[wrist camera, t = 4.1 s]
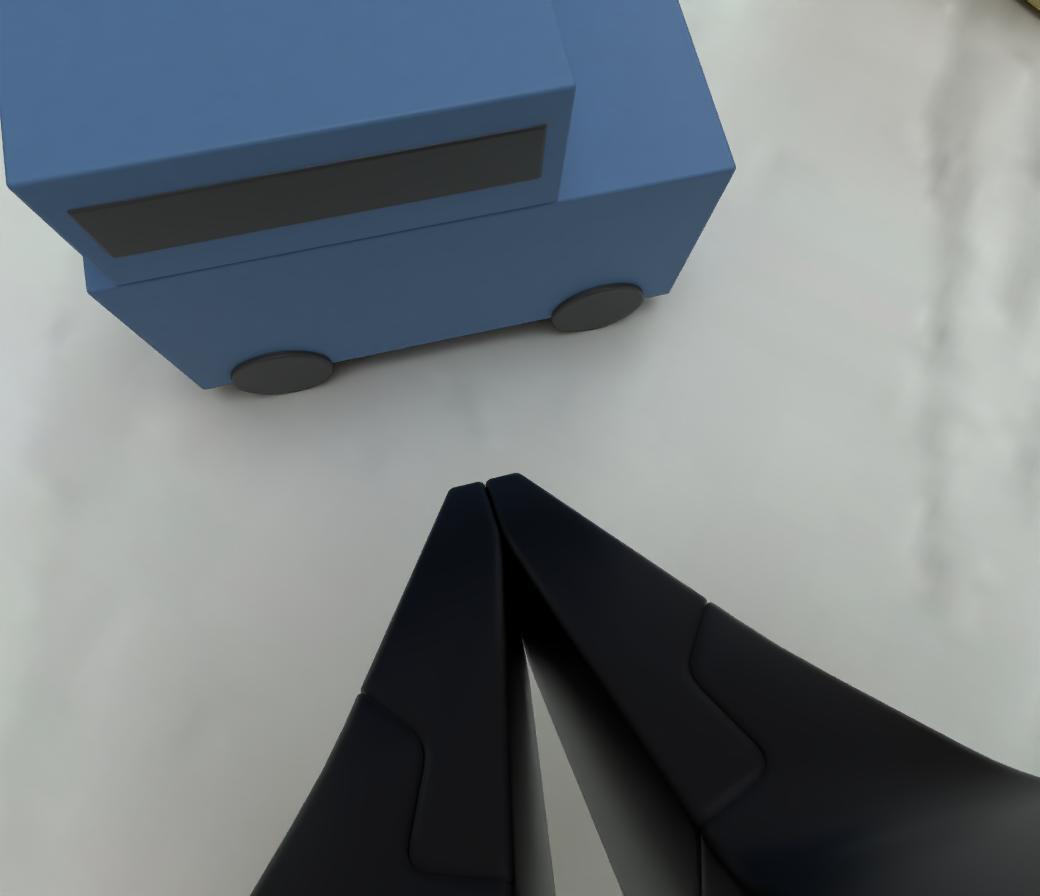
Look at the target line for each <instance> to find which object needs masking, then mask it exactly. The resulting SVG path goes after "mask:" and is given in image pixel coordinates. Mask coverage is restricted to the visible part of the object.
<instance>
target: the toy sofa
mask: <svg viewBox="0 0 1040 896" xmlns="http://www.w3.org/2000/svg"><path fill="white" fill-rule="evenodd" d="M1026 1H1028V2H1029V3H1030V4H1032V5H1033V6H1034V7H1036V8H1037V9H1038V10H1040V0H1026Z"/></svg>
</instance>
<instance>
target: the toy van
mask: <svg viewBox="0 0 1040 896" xmlns="http://www.w3.org/2000/svg"><path fill="white" fill-rule="evenodd" d="M0 119H1V130H2V141H3V152H4V164H5V175H6V184H7V186H8V188H9V189H10V190H11V191H12V192H13V193H14V194H15V195H16V196H18V197H19V198H20V199H21V200H22V201H23V202H24V203H25V204H26V205H27V206H28V207H30V208H31V209H32V210H33V211H34V212H35V213H36V214H37V215H38V216H39V217H41V218H42V219H43V220H44V221H45V222H46V223H47V224H48V225H49V226H50V227H51V228H53V229H54V230H55V231H56V232H57V233H58V234H59V235H60V236H61V237H62V238H64V239H65V240H66V241H67V242H68V243H69V244H70V245H71V246H72V247H73V248H74V249H76V250H77V251H78V252H79V253H80V254H81V255H82V256H83V262H84V270H85V279H86V288H87V292H88V294H89V295H90V296H92V297H93V298H94V299H95V300H96V301H98V302H99V303H100V304H101V305H102V306H104V307H105V308H106V309H107V310H108V311H110V312H111V313H112V314H113V315H114V316H116V317H117V318H118V319H119V320H120V321H122V322H123V323H124V324H125V325H127V326H128V327H129V328H130V329H131V330H133V331H134V332H135V333H136V334H137V335H139V336H140V337H141V338H142V339H143V340H145V341H146V342H147V343H148V344H149V345H151V346H152V347H153V348H154V349H155V350H157V351H158V352H159V353H160V354H161V355H163V356H164V357H165V358H166V359H167V360H169V361H170V362H171V363H172V364H173V365H175V366H176V367H177V368H178V369H179V370H181V371H182V372H183V373H184V374H185V375H187V376H188V377H189V378H190V379H191V380H193V381H194V382H195V383H196V384H197V385H199V386H200V387H201V388H202V389H209V388H214V387H219V386H224V385H228V384H234V386H235V387H237V388H238V389H240V390H243V391H246V392H250V393H256V394H281V393H289V392H295V391H299V390H303V389H307V388H310V387H312V386H315V385H317V384H319V383H321V382H323V381H325V380H326V379H327V378H328V377H329V376H330V375H331V374H332V371H333V364H332V363H335V362H339V361H344V360H349V359H354V358H359V357H364V356H368V355H373V354H378V353H383V352H388V351H393V350H397V349H402V348H407V347H412V346H417V345H422V344H426V343H431V342H436V341H441V340H446V339H450V338H455V337H460V336H465V335H470V334H475V333H479V332H484V331H489V330H494V329H499V328H504V327H508V326H513V325H518V324H523V323H528V322H533V321H537V320H542V319H547V318H551V319H552V323H553V324H554V326H555V327H556V328H558V329H560V330H564V331H583V330H590V329H595V328H599V327H602V326H605V325H608V324H611V323H613V322H616V321H618V320H620V319H622V318H624V317H626V316H627V315H629V314H630V313H632V312H633V311H635V310H636V309H637V308H638V307H639V306H640V305H641V303H642V301H643V299H644V298H648V297H653V296H658V295H663V294H668V293H669V292H670V290H671V288H672V286H673V284H674V282H675V281H676V279H677V277H678V275H679V273H680V271H681V270H682V268H683V266H684V264H685V262H686V260H687V258H688V257H689V255H690V253H691V251H692V249H693V247H694V245H695V244H696V242H697V240H698V238H699V236H700V234H701V233H702V231H703V229H704V227H705V225H706V223H707V221H708V220H709V218H710V216H711V214H712V212H713V210H714V208H715V207H716V205H717V203H718V201H719V199H720V197H721V196H722V194H723V192H724V190H725V188H726V186H727V184H728V183H729V181H730V179H731V177H732V175H733V173H734V171H735V169H736V166H735V163H734V160H733V157H732V154H731V151H730V148H729V145H728V143H727V140H726V137H725V134H724V131H723V128H722V125H721V122H720V119H719V117H718V114H717V111H716V108H715V105H714V102H713V99H712V96H711V93H710V91H709V88H708V85H707V82H706V79H705V76H704V73H703V70H702V68H701V65H700V62H699V59H698V56H697V53H696V50H695V47H694V44H693V42H692V39H691V36H690V33H689V30H688V27H687V24H686V21H685V19H684V16H683V13H682V10H681V7H680V4H679V1H678V0H0Z"/></svg>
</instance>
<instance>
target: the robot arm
mask: <svg viewBox="0 0 1040 896" xmlns="http://www.w3.org/2000/svg"><path fill="white" fill-rule="evenodd" d="M523 644H524V646H523ZM524 648H525V651H526V655H527V658H528V661H529V664H530V666H531V669H532V672H533V674H534V677H535V680H536V682H537V685H538V687H539V689H540V692H541V694H542V697H543V699H544V702H545V704H546V707H547V709H548V712H549V714H550V716H551V719H552V721H553V724H554V726H555V729H556V731H557V734H558V736H559V738H560V741H561V743H562V746H563V748H564V751H565V753H566V756H567V758H568V761H569V763H570V765H571V768H572V770H573V773H574V775H575V778H576V780H577V783H578V785H579V787H580V790H581V792H582V795H583V797H584V800H585V802H586V805H587V807H588V809H589V812H590V814H591V817H592V819H593V822H594V824H595V827H596V829H597V832H598V834H599V836H600V839H601V841H602V844H603V846H604V849H605V851H606V854H607V856H608V858H609V861H610V863H611V866H612V868H613V871H614V873H615V876H616V878H617V881H618V883H619V885H620V888H621V890H622V893H623V895H624V896H1040V777H1037V776H1034V775H1031V774H1028V773H1025V772H1021V771H1019V770H1016V769H1014V768H1011V767H1009V766H1007V765H1004V764H1002V763H999V762H997V761H994V760H992V759H990V758H988V757H986V756H984V755H982V754H980V753H978V752H976V751H974V750H972V749H970V748H968V747H966V746H964V745H962V744H960V743H958V742H956V741H954V740H952V739H950V738H949V737H947V736H945V735H943V734H941V733H939V732H937V731H935V730H934V729H932V728H930V727H928V726H926V725H924V724H922V723H920V722H918V721H917V720H915V719H913V718H911V717H909V716H907V715H905V714H903V713H901V712H900V711H898V710H896V709H894V708H892V707H890V706H888V705H886V704H885V703H883V702H881V701H879V700H877V699H875V698H873V697H871V696H869V695H868V694H866V693H864V692H862V691H860V690H858V689H856V688H854V687H852V686H851V685H849V684H847V683H845V682H843V681H841V680H839V679H837V678H835V677H834V676H832V675H830V674H828V673H826V672H825V671H823V670H821V669H819V668H817V667H816V666H814V665H812V664H810V663H809V662H807V661H805V660H803V659H801V658H800V657H798V656H796V655H794V654H793V653H791V652H789V651H787V650H785V649H784V648H782V647H780V646H779V645H777V644H775V643H774V642H772V641H771V640H769V639H767V638H766V637H764V636H763V635H761V634H760V633H758V632H756V631H755V630H753V629H752V628H750V627H748V626H747V625H745V624H744V623H742V622H741V621H739V620H737V619H736V618H734V617H733V616H731V615H730V614H728V613H727V612H725V611H724V610H722V609H721V608H720V607H718V606H717V605H715V604H714V603H711V602H710V603H707V600H706V599H705V598H704V597H703V596H701V595H700V594H698V593H697V592H695V591H694V590H692V589H691V588H689V587H688V586H686V585H685V584H683V583H682V582H680V581H679V580H677V579H676V578H674V577H673V576H671V575H670V574H668V573H667V572H666V571H664V570H663V569H661V568H660V567H658V566H657V565H655V564H654V563H652V562H651V561H649V560H648V559H646V558H645V557H643V556H642V555H640V554H639V553H637V552H636V551H634V550H633V549H631V548H630V547H628V546H627V545H625V544H624V543H622V542H621V541H619V540H618V539H616V538H615V537H614V536H612V535H611V534H609V533H608V532H606V531H605V530H603V529H602V528H600V527H599V526H597V525H596V524H594V523H593V522H591V521H590V520H588V519H587V518H585V517H584V516H582V515H581V514H579V513H578V512H576V511H575V510H573V509H572V508H570V507H569V506H567V505H566V504H565V503H563V502H562V501H560V500H559V499H557V498H556V497H554V496H553V495H551V494H550V493H548V492H547V491H545V490H544V489H542V488H541V487H539V486H538V485H536V484H535V483H533V482H532V481H530V480H529V479H527V478H526V477H524V476H523V475H521V474H519V473H513V474H509V475H504V476H500V477H496V478H492V479H489V480H488V481H487V482H486V487H485V485H484V484H483V483H481V482H475V483H471V484H467V485H462V486H458V487H454V488H451V489H450V490H449V492H448V494H447V496H446V498H445V500H444V503H443V505H442V507H441V509H440V512H439V514H438V516H437V518H436V521H435V523H434V525H433V527H432V530H431V532H430V534H429V536H428V539H427V541H426V543H425V545H424V548H423V550H422V552H421V554H420V557H419V559H418V561H417V563H416V566H415V568H414V570H413V572H412V575H411V577H410V579H409V581H408V584H407V586H406V588H405V590H404V593H403V595H402V597H401V599H400V602H399V604H398V606H397V608H396V611H395V613H394V615H393V617H392V620H391V622H390V624H389V626H388V629H387V631H386V633H385V635H384V638H383V640H382V642H381V644H380V647H379V649H378V651H377V653H376V656H375V658H374V660H373V662H372V665H371V667H370V669H369V671H368V674H367V676H366V678H365V680H364V683H363V685H362V687H361V693H360V694H359V695H358V696H357V697H356V700H355V702H354V704H353V707H352V709H351V711H350V713H349V716H348V718H347V720H346V723H345V725H344V727H343V729H342V731H341V733H340V735H339V737H338V739H337V741H336V743H335V746H334V748H333V750H332V752H331V754H330V756H329V758H328V760H327V762H326V764H325V766H324V768H323V770H322V772H321V774H320V776H319V777H318V779H317V781H316V783H315V785H314V786H313V788H312V790H311V792H310V794H309V795H308V797H307V799H306V801H305V802H304V804H303V806H302V808H301V810H300V811H299V813H298V815H297V817H296V818H295V820H294V822H293V824H292V826H291V827H290V829H289V831H288V832H287V834H286V836H285V837H284V839H283V841H282V843H281V844H280V846H279V848H278V849H277V851H276V853H275V854H274V856H273V858H272V859H271V861H270V863H269V864H268V866H267V868H266V869H265V871H264V873H263V875H262V876H261V878H260V880H259V881H258V883H257V885H256V886H255V888H254V890H253V891H252V893H251V895H250V896H556V894H555V885H554V877H553V869H552V861H551V853H550V844H549V836H548V828H547V820H546V812H545V803H544V795H543V787H542V779H541V771H540V762H539V754H538V746H537V738H536V730H535V721H534V713H533V705H532V697H531V689H530V680H529V674H528V667H527V661H526V656H525V651H524Z"/></svg>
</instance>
